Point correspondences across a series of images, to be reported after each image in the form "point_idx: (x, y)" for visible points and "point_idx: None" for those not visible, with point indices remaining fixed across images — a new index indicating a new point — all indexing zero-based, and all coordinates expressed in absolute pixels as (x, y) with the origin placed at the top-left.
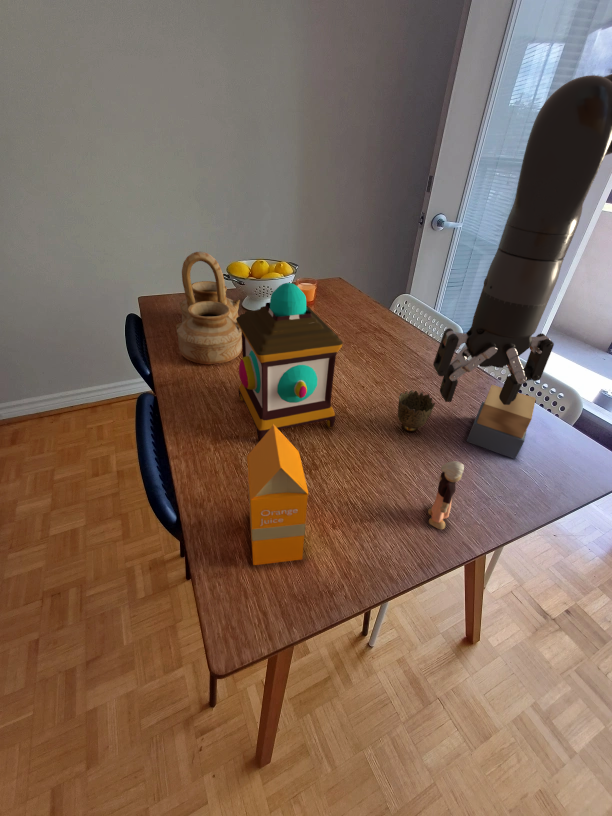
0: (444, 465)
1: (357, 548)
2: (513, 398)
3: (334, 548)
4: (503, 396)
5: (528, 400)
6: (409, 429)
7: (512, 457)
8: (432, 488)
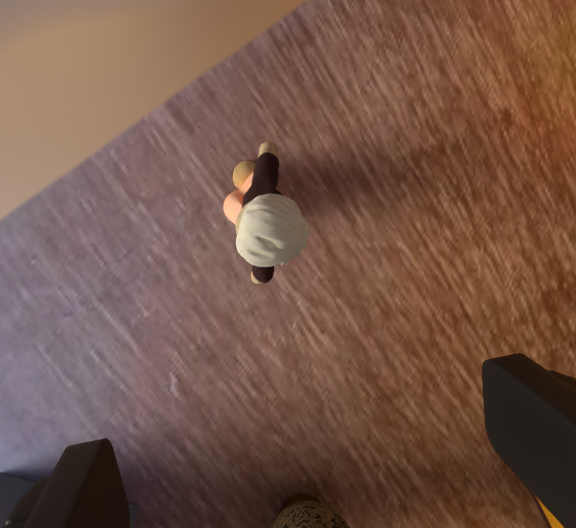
0: (302, 239)
1: (453, 61)
2: (35, 496)
3: (506, 51)
4: (111, 506)
5: None
6: (306, 500)
7: (6, 476)
8: (253, 299)
